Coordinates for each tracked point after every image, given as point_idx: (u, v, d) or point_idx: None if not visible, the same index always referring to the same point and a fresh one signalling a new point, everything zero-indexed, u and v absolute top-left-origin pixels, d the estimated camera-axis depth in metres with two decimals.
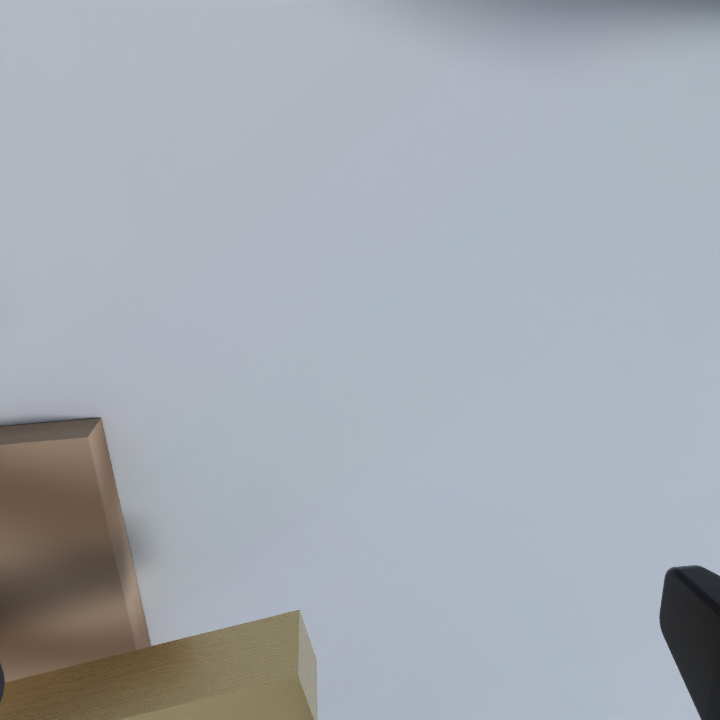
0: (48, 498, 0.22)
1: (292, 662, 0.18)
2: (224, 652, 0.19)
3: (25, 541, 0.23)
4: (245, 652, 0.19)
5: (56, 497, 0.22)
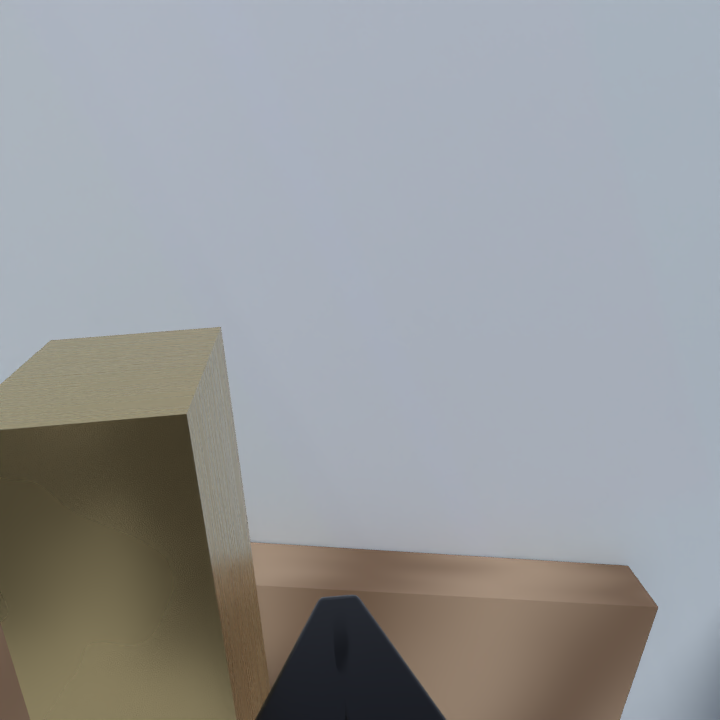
0: None
1: None
2: None
3: None
4: None
5: None
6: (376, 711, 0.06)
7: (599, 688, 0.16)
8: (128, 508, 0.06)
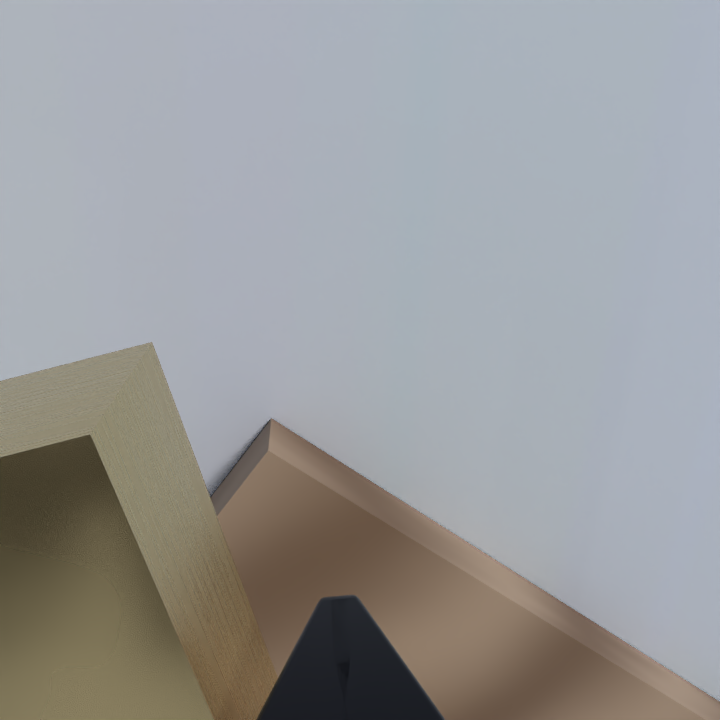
0: (305, 562, 0.14)
1: None
2: None
3: None
4: None
5: (312, 554, 0.14)
6: (375, 711, 0.06)
7: None
8: (57, 535, 0.06)
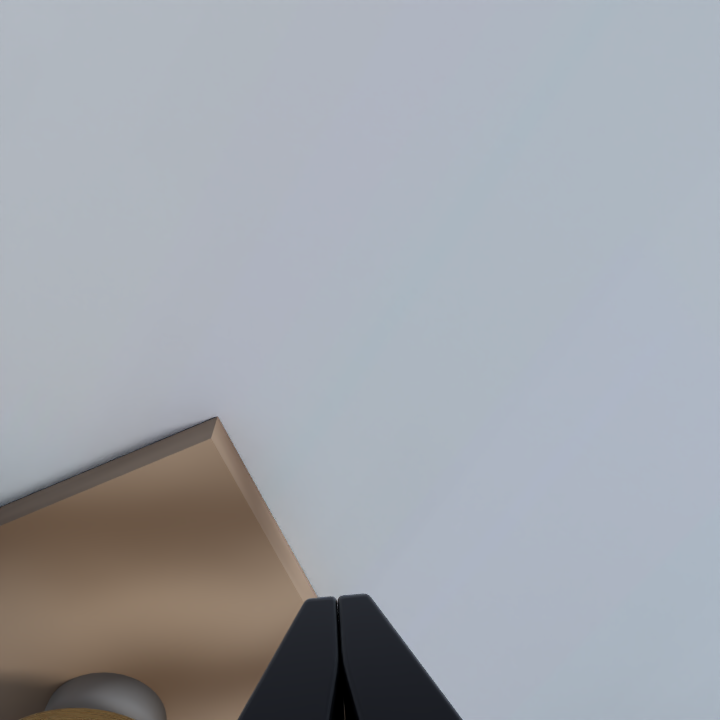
0: (191, 517, 0.20)
1: None
2: None
3: (183, 570, 0.21)
4: None
5: (199, 514, 0.20)
6: (391, 709, 0.06)
7: None
8: None
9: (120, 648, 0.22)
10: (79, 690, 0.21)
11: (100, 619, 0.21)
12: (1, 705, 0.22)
